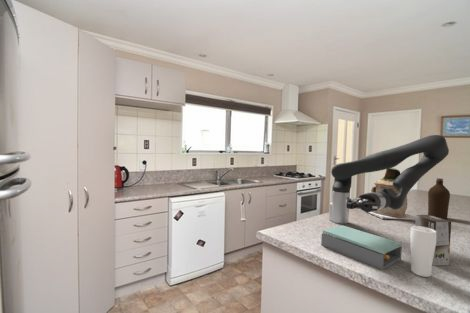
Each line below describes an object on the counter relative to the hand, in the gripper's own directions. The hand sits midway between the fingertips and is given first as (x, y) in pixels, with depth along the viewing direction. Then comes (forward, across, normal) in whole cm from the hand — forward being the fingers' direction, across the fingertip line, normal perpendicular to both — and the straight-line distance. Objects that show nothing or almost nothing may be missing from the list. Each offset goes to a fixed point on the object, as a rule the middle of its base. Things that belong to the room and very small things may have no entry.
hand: (348, 206), depth 90 cm
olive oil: (-107, -2, +19) cm, 109 cm away
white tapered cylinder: (-10, +20, +19) cm, 30 cm away
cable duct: (-9, 0, +19) cm, 21 cm away
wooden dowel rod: (-9, +1, +18) cm, 20 cm away
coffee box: (-26, +18, +19) cm, 37 cm away
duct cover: (-9, 0, +14) cm, 17 cm away
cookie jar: (-84, -21, +20) cm, 89 cm away
